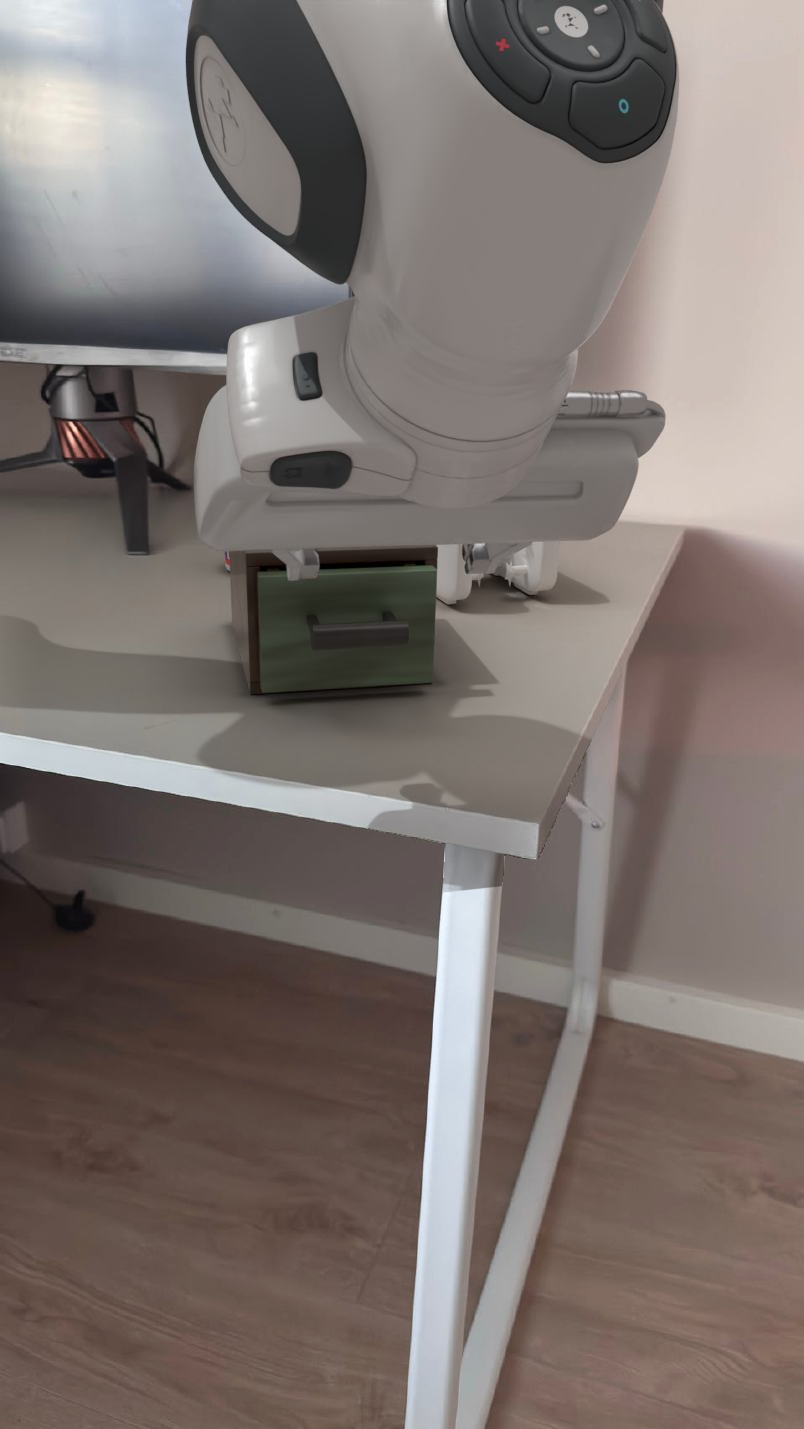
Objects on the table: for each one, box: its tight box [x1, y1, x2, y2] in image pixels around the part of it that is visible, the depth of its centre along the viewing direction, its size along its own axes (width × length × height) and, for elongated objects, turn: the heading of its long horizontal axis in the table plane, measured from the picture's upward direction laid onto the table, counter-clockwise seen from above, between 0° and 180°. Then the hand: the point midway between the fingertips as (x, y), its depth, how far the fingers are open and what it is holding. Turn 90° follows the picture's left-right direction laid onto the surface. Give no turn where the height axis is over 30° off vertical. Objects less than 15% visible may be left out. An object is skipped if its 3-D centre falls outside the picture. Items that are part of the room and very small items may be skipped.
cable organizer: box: [436, 541, 561, 605], centre depth 96 cm, size 15×11×12 cm
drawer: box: [257, 561, 437, 694], centre depth 74 cm, size 18×12×8 cm, turn 13°
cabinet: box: [229, 545, 438, 695], centre depth 79 cm, size 15×13×10 cm
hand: (390, 565), depth 56 cm, fingers open, 8 cm apart
